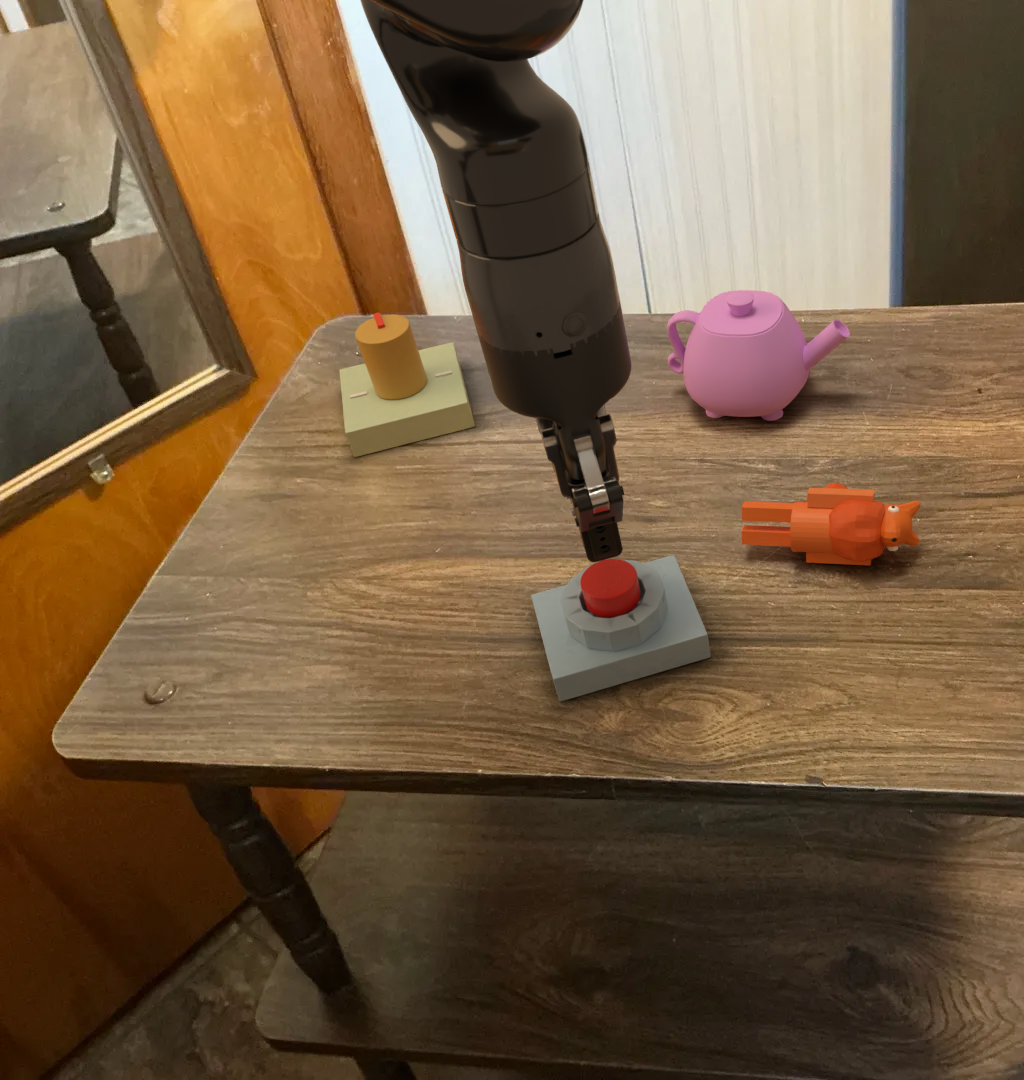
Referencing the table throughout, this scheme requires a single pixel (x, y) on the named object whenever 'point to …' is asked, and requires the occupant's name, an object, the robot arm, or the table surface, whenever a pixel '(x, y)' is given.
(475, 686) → the table surface
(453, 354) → the plate
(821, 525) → the orange fox minifigure
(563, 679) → the grey button base
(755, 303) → the teapot
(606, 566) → the bell button
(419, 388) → the lock knob
